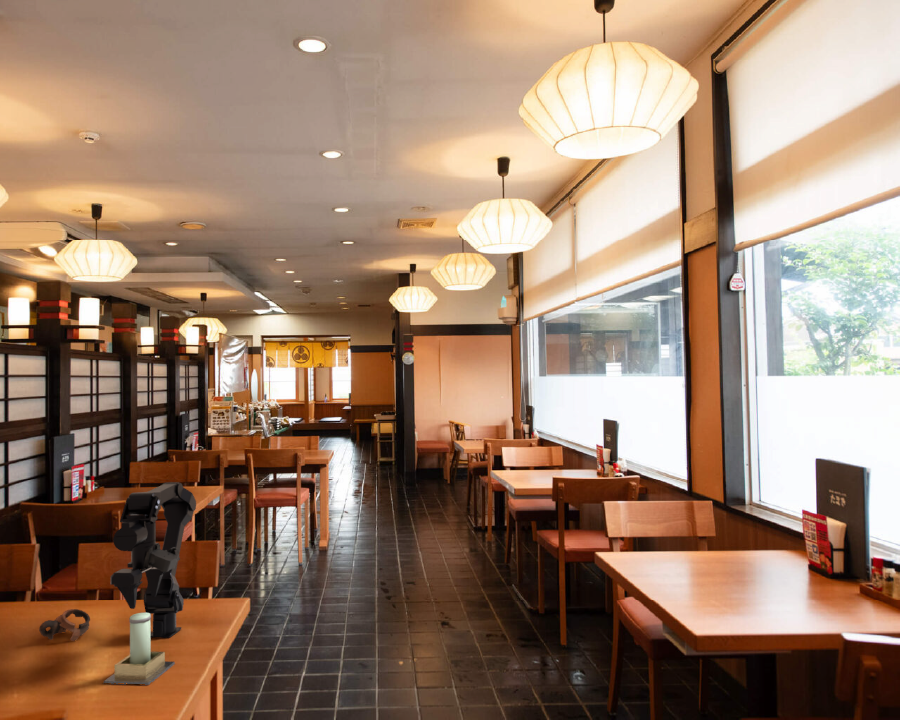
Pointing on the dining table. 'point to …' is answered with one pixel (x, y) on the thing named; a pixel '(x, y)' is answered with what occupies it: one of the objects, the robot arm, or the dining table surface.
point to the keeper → (140, 670)
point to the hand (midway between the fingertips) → (143, 602)
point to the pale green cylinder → (140, 638)
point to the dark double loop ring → (65, 625)
